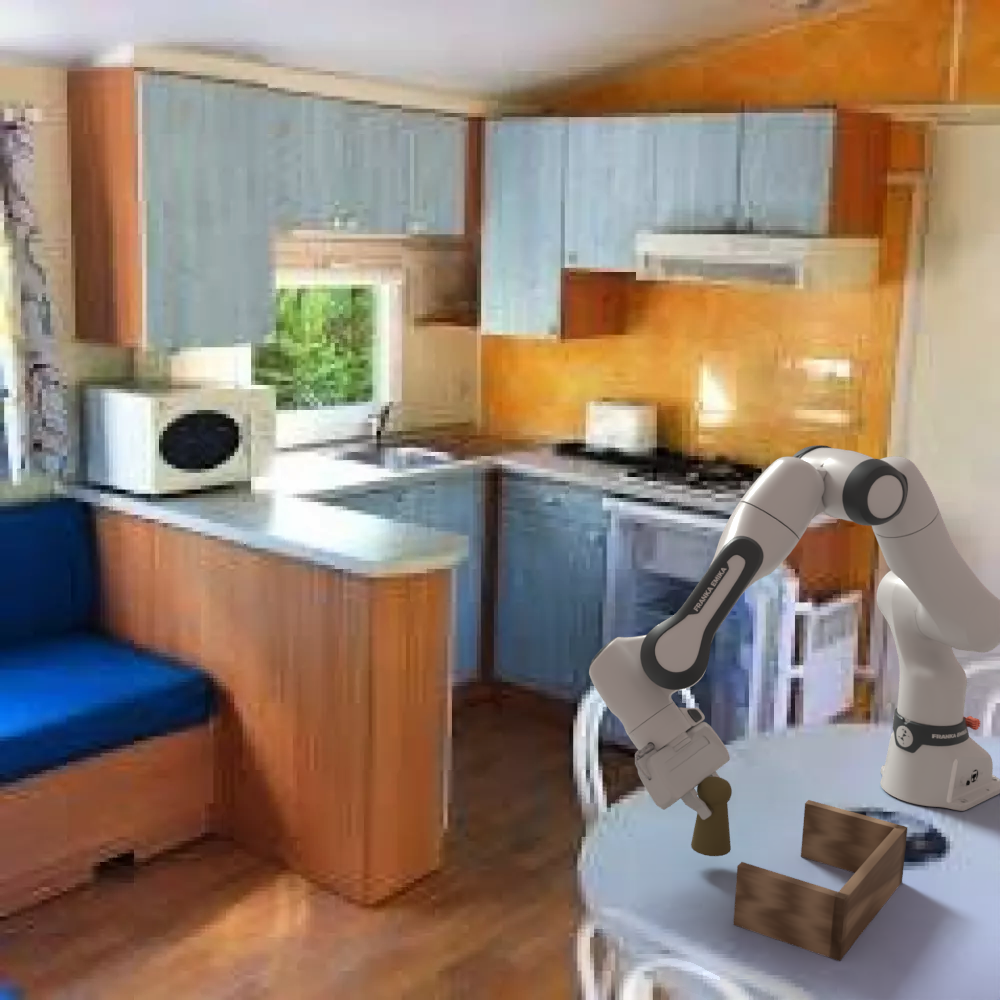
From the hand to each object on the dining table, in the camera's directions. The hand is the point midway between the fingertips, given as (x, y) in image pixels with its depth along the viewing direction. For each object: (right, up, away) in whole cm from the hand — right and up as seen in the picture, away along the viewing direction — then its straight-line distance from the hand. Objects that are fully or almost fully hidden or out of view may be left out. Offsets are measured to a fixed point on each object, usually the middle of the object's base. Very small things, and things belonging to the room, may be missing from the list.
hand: (716, 810), depth 196 cm
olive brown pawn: (-1, -6, +2) cm, 6 cm away
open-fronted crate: (+14, -12, -8) cm, 20 cm away
